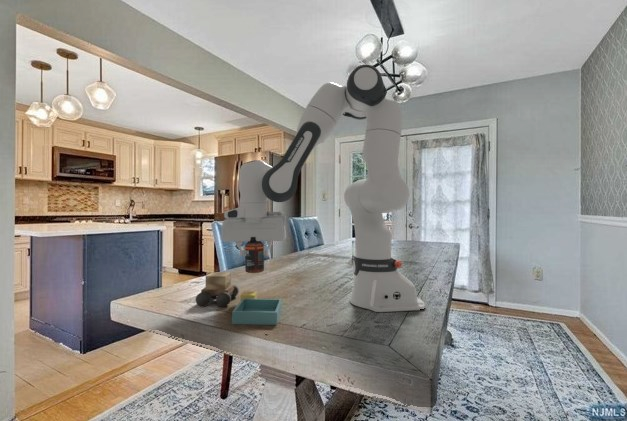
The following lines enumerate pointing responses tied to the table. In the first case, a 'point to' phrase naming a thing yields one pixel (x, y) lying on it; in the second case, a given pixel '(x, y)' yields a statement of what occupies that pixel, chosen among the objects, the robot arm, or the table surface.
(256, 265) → the supplement bottle
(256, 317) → the tray
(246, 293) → the yellow cube
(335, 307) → the table surface
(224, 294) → the trolley
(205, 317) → the table surface
